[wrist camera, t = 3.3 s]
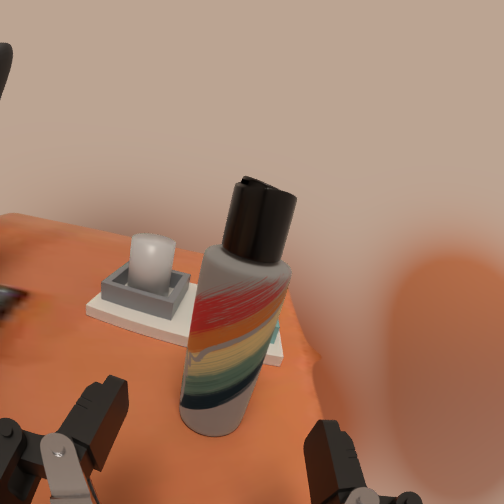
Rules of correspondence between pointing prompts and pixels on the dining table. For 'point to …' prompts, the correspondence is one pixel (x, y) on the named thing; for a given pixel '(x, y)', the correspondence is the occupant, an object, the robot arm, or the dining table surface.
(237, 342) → the lotion bottle
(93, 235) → the dining table surface
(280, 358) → the tray
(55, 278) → the dining table surface
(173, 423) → the dining table surface
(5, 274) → the dining table surface
